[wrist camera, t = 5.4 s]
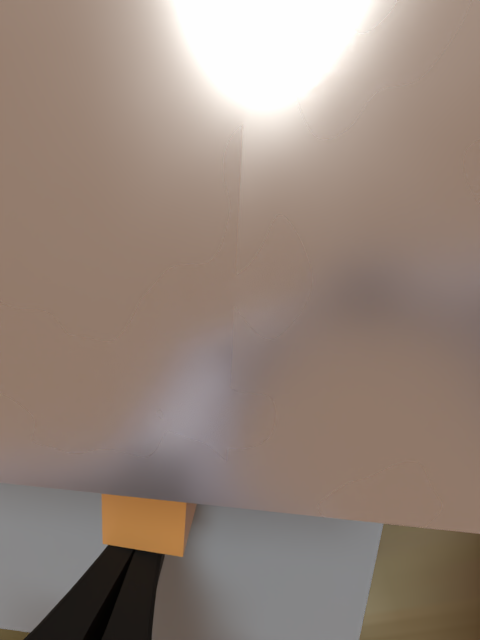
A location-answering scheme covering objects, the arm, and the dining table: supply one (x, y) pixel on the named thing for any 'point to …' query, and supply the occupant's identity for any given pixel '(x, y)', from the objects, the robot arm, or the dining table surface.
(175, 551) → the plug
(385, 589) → the dining table surface
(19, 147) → the grey arch block
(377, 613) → the dining table surface
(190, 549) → the board
